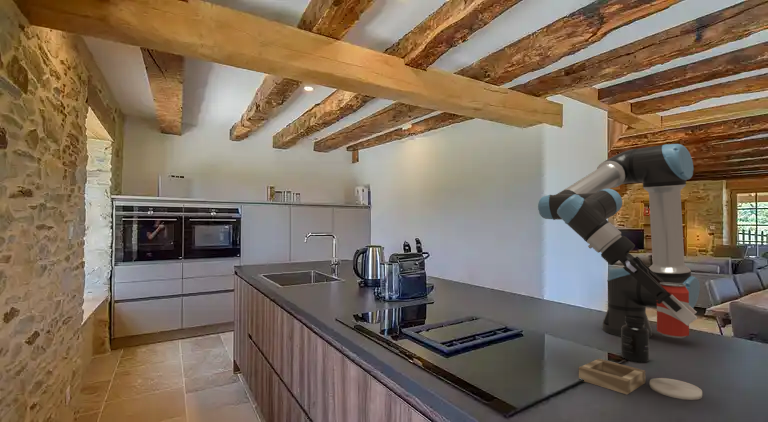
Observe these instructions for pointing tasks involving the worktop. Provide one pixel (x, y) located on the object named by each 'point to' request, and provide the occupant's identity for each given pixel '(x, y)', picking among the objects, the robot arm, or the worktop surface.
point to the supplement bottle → (635, 339)
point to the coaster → (676, 388)
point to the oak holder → (612, 375)
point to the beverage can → (666, 318)
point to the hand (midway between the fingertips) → (691, 318)
